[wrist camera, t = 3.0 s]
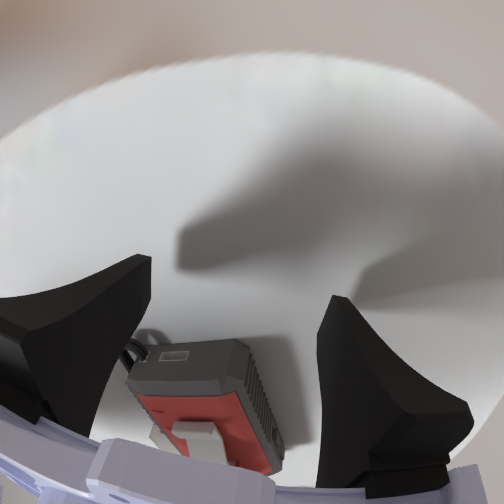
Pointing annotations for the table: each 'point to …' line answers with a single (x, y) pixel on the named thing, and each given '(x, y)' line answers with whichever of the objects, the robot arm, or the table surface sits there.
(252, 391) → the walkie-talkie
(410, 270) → the table surface
